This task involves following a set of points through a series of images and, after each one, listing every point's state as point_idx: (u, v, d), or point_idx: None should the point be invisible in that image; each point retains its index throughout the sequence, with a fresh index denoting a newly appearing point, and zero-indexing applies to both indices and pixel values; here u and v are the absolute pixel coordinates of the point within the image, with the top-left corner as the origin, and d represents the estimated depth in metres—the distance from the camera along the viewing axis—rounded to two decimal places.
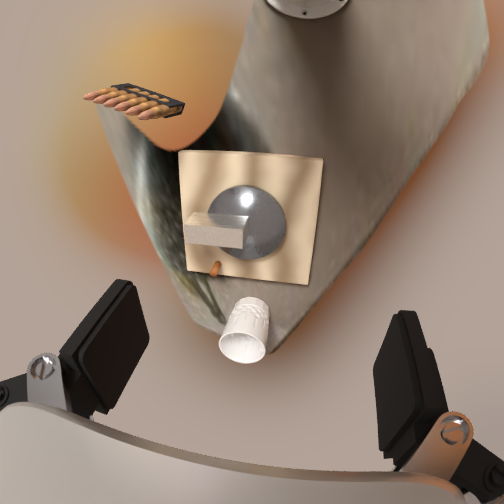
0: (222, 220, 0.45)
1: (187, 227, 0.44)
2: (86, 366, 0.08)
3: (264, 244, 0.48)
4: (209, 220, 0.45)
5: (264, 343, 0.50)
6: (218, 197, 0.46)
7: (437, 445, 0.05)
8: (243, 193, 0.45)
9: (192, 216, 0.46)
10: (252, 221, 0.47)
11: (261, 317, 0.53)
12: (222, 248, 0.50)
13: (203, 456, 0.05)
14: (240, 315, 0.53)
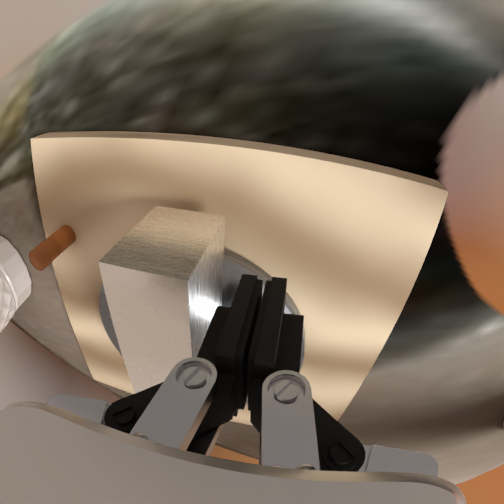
0: None
1: (174, 292, 0.09)
2: (242, 366, 0.08)
3: None
4: (207, 319, 0.12)
5: None
6: None
7: (279, 411, 0.07)
8: None
9: (214, 243, 0.11)
10: None
11: (2, 328, 0.18)
12: None
13: (203, 456, 0.05)
14: None
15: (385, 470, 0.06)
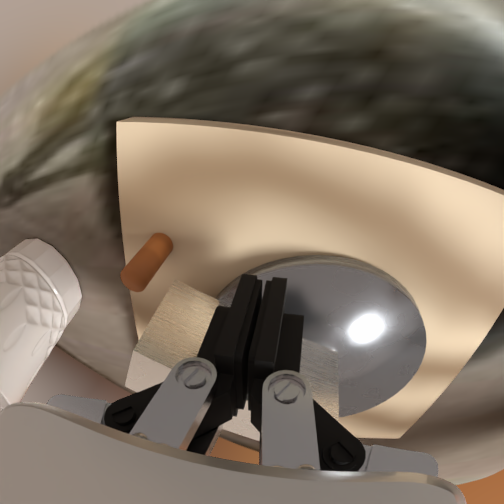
0: None
1: (144, 362, 0.10)
2: (241, 366, 0.08)
3: None
4: None
5: None
6: (282, 276, 0.13)
7: (279, 411, 0.07)
8: (369, 297, 0.13)
9: (168, 305, 0.12)
10: (338, 364, 0.15)
11: (49, 352, 0.17)
12: None
13: (203, 456, 0.05)
14: (31, 331, 0.14)
15: (385, 470, 0.06)
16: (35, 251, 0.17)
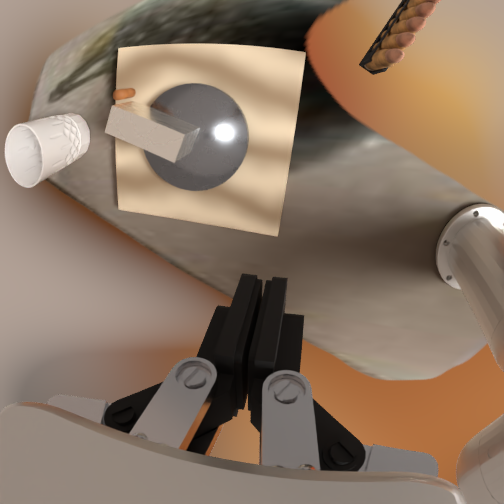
0: (164, 118, 0.28)
1: (114, 110, 0.26)
2: (241, 366, 0.08)
3: (206, 173, 0.33)
4: (148, 112, 0.28)
5: None
6: (172, 90, 0.29)
7: (279, 411, 0.07)
8: (206, 94, 0.29)
9: (128, 103, 0.28)
10: (202, 136, 0.31)
11: (66, 162, 0.33)
12: (150, 161, 0.33)
13: (203, 456, 0.05)
14: (64, 138, 0.30)
15: (385, 469, 0.06)
16: (70, 115, 0.33)
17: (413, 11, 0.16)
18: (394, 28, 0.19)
